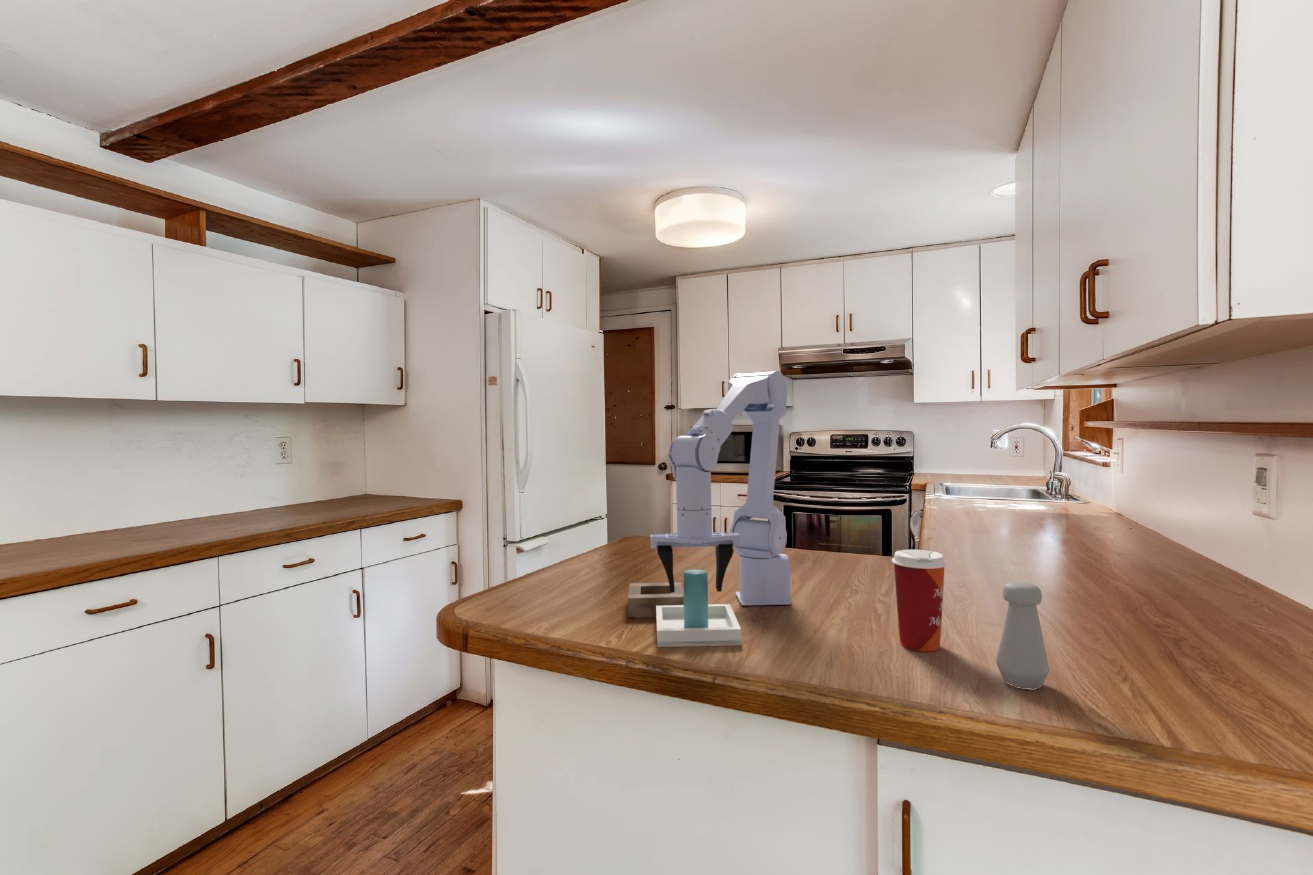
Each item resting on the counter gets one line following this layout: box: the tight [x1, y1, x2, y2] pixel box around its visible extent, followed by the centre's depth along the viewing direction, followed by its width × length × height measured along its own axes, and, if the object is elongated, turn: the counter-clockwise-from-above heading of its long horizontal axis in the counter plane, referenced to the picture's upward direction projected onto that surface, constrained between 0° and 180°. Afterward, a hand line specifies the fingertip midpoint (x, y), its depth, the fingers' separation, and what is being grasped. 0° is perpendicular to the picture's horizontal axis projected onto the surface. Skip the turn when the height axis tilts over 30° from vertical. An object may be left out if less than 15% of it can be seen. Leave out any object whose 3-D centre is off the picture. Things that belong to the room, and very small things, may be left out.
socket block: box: [627, 581, 684, 618], centre depth 112 cm, size 10×10×4 cm
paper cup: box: [891, 549, 948, 653], centre depth 91 cm, size 8×8×14 cm
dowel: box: [682, 569, 709, 628], centre depth 99 cm, size 4×4×9 cm
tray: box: [655, 603, 742, 648], centre depth 99 cm, size 13×13×2 cm
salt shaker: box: [995, 581, 1050, 689], centre depth 77 cm, size 6×6×13 cm
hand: (695, 590), depth 99 cm, fingers open, 7 cm apart
